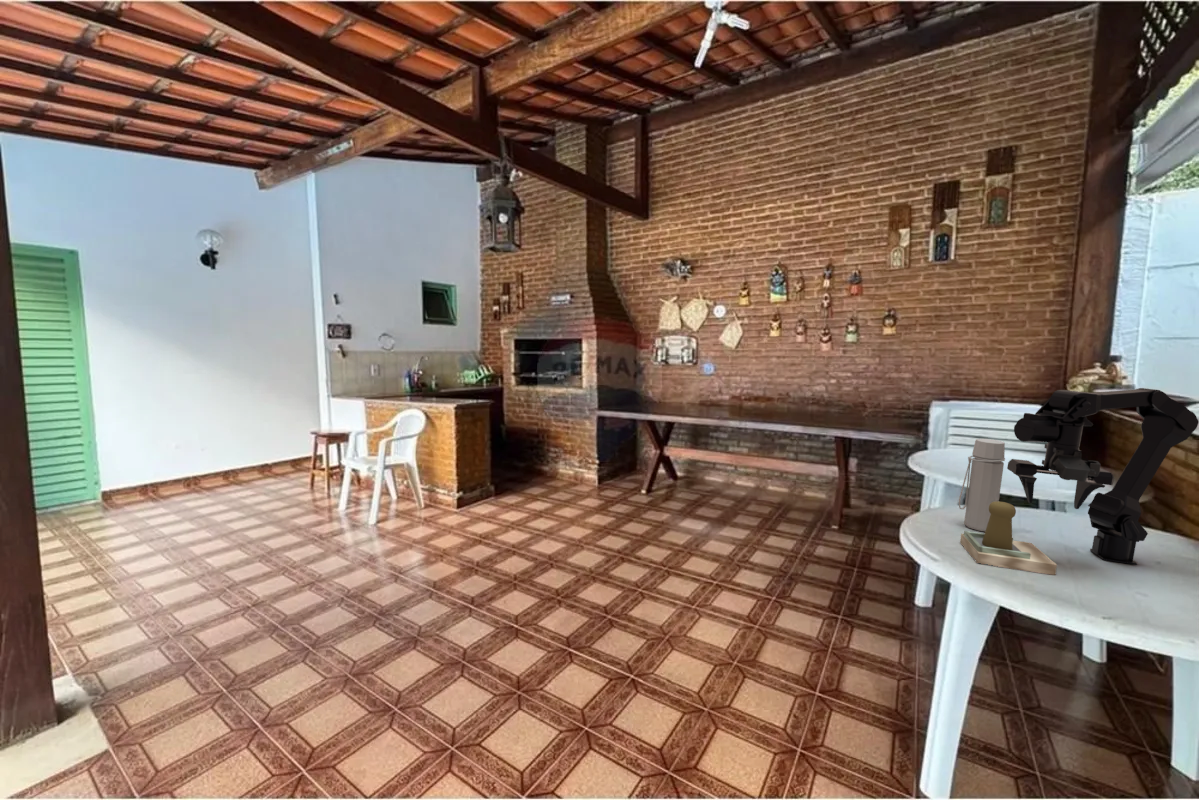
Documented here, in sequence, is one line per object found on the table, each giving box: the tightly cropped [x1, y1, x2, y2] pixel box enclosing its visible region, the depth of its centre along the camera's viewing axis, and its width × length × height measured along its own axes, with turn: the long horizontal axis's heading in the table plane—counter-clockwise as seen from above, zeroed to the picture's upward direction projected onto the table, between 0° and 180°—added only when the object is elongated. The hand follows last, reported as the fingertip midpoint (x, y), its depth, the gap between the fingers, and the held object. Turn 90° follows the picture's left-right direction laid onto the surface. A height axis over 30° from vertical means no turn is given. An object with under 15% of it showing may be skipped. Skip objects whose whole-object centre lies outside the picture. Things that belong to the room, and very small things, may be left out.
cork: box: [982, 501, 1017, 550], centre depth 125 cm, size 6×6×11 cm
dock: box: [959, 530, 1058, 576], centre depth 126 cm, size 15×13×4 cm
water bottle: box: [958, 438, 1006, 533], centre depth 144 cm, size 9×8×25 cm
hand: (1052, 505), depth 126 cm, fingers open, 9 cm apart
